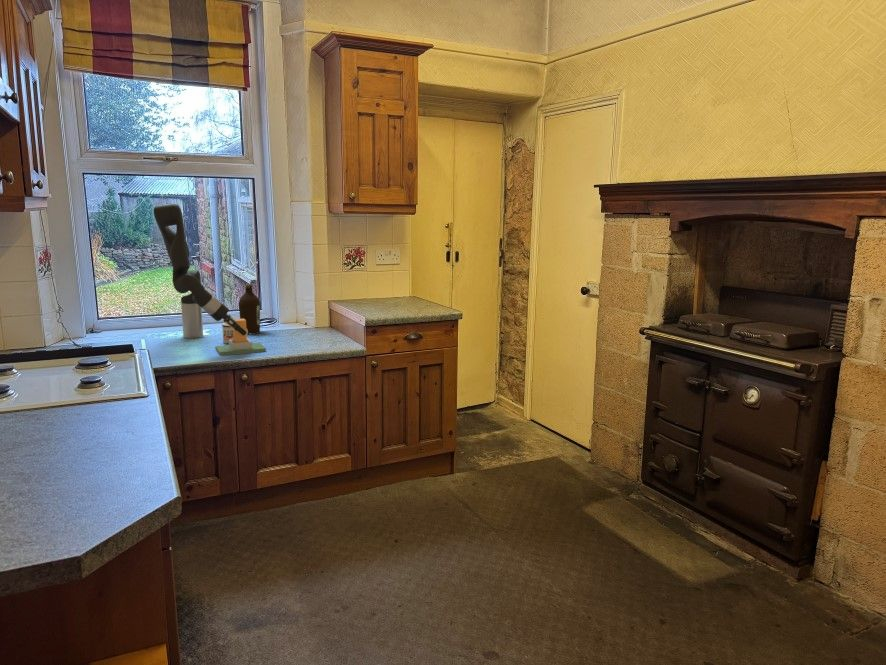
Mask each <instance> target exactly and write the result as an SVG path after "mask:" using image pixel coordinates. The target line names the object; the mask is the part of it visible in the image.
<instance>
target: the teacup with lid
mask: <svg viewBox="0 0 886 665" xmlns="http://www.w3.org/2000/svg"><path fill="white" fill-rule="evenodd" d="M233 319H235V318H234V317H233ZM221 327H222V341H223V343H224V344H227V343H228V344H227V345H229V340H231V339H233V328H231V327H230V326H229V325H228V324H226V323H225V322H223V323H222V324H221ZM246 332H247V335H249V334H248V330H247V329H246Z"/></svg>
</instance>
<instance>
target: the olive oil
mask: <svg viewBox="0 0 886 665" xmlns="http://www.w3.org/2000/svg"><path fill="white" fill-rule="evenodd" d="M238 310H239V319H245V320H246V329H247V330H248V333H256V334H258V333H257V332H259V333H260V332H261V301H260V299H259V297H258V296H257V295H256V294H255V293H254V292H253V285H252V284H245V292H244V293H243V294H242V296H241V297H240V298H239V300H238Z"/></svg>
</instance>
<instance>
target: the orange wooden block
mask: <svg viewBox="0 0 886 665" xmlns="http://www.w3.org/2000/svg"><path fill="white" fill-rule="evenodd" d="M234 320H235V321H236V322H237V324H238V325H240V327H241V328H242V329H244V330H245V331H246V320H245V319H240V318H234ZM235 321H234V322H235ZM234 327H235V328H236V327H237V325H235V326H234ZM247 335H248V334H247V333H246V334H245V335H244V336H243V335H242V334H241V333H239V332H238V331H236V330H235V329H234V328H233V341H234V343H239V342H247V338H248V337H247Z"/></svg>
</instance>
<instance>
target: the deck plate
mask: <svg viewBox="0 0 886 665" xmlns="http://www.w3.org/2000/svg"><path fill="white" fill-rule="evenodd" d="M214 347H215V348H214V349H215V351H216V352H217V353H218V355H219V356H230V355H240V354H241V355H242V354H253V353H254V352H255V353H265V352H264V351H266V350H267V348H266V347H265V345H263V344H262V343H261V342H252V341H251V339H249V338H248V337H247V342H239V343H234V341H233V339H231V340H229V344H227V345H226V344H225V345H215V346H214ZM266 352H267V351H266Z"/></svg>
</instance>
